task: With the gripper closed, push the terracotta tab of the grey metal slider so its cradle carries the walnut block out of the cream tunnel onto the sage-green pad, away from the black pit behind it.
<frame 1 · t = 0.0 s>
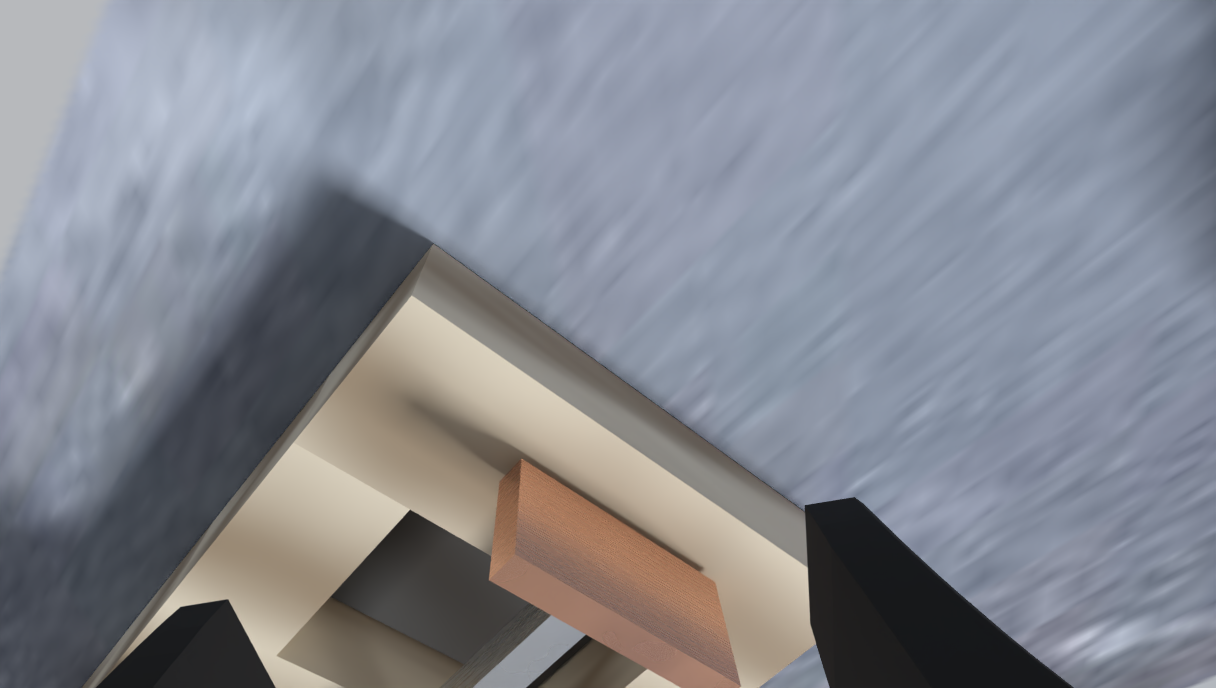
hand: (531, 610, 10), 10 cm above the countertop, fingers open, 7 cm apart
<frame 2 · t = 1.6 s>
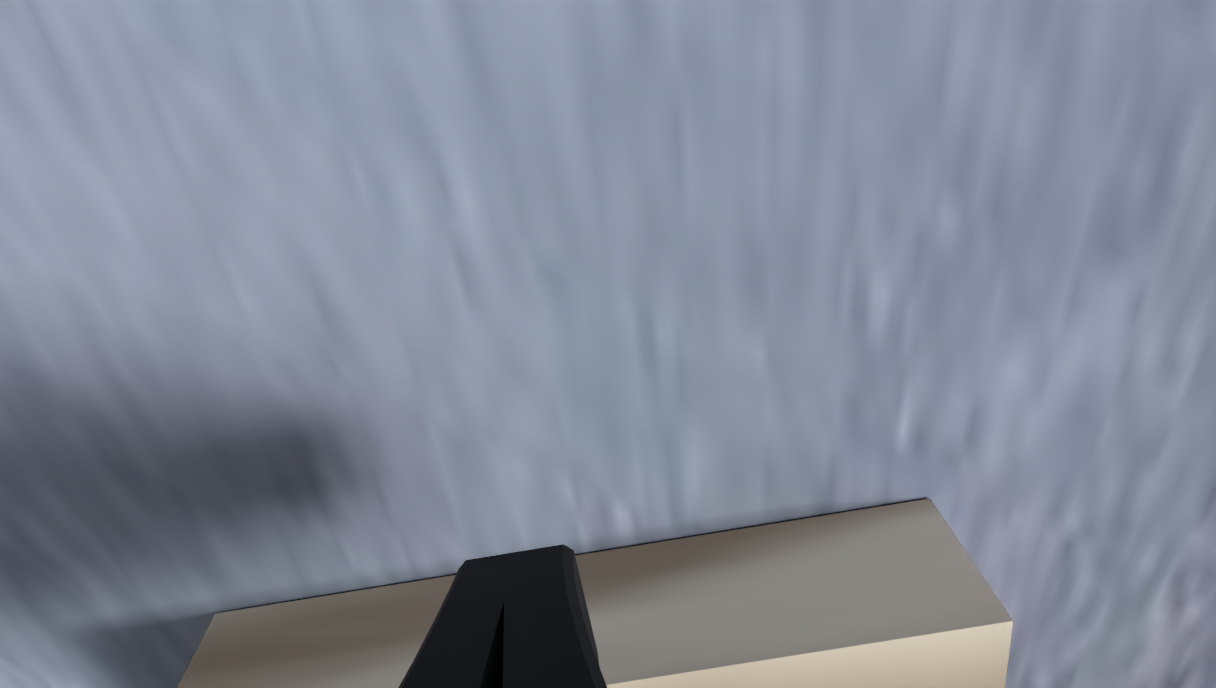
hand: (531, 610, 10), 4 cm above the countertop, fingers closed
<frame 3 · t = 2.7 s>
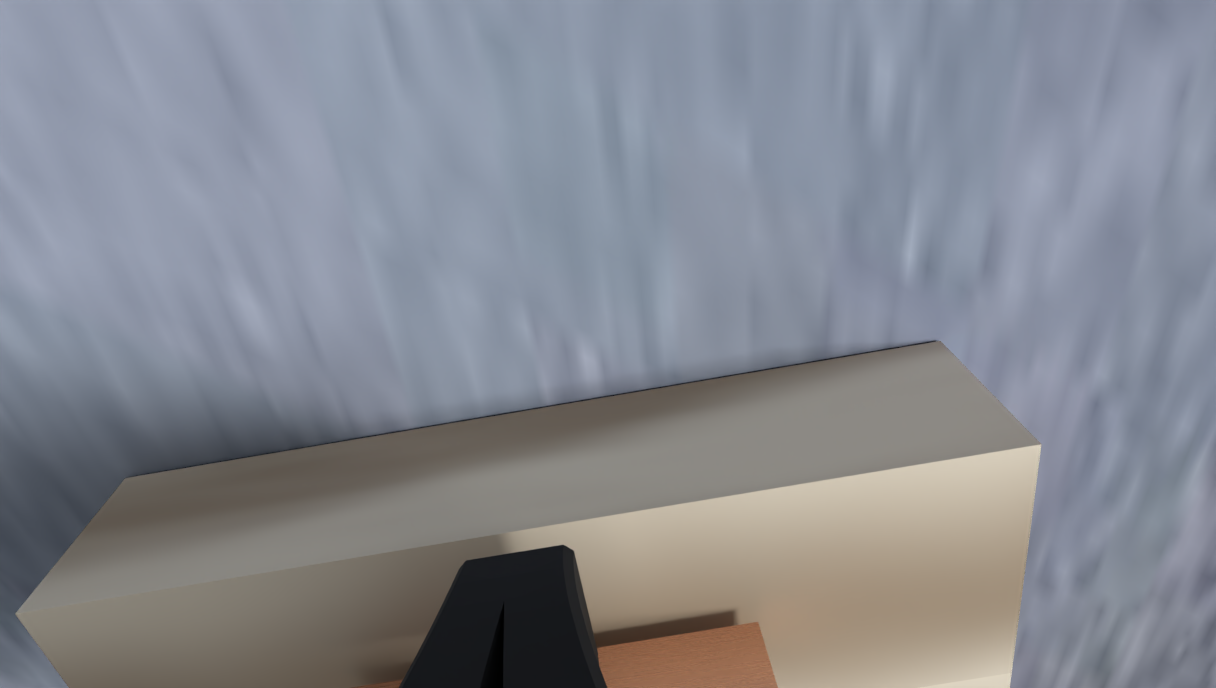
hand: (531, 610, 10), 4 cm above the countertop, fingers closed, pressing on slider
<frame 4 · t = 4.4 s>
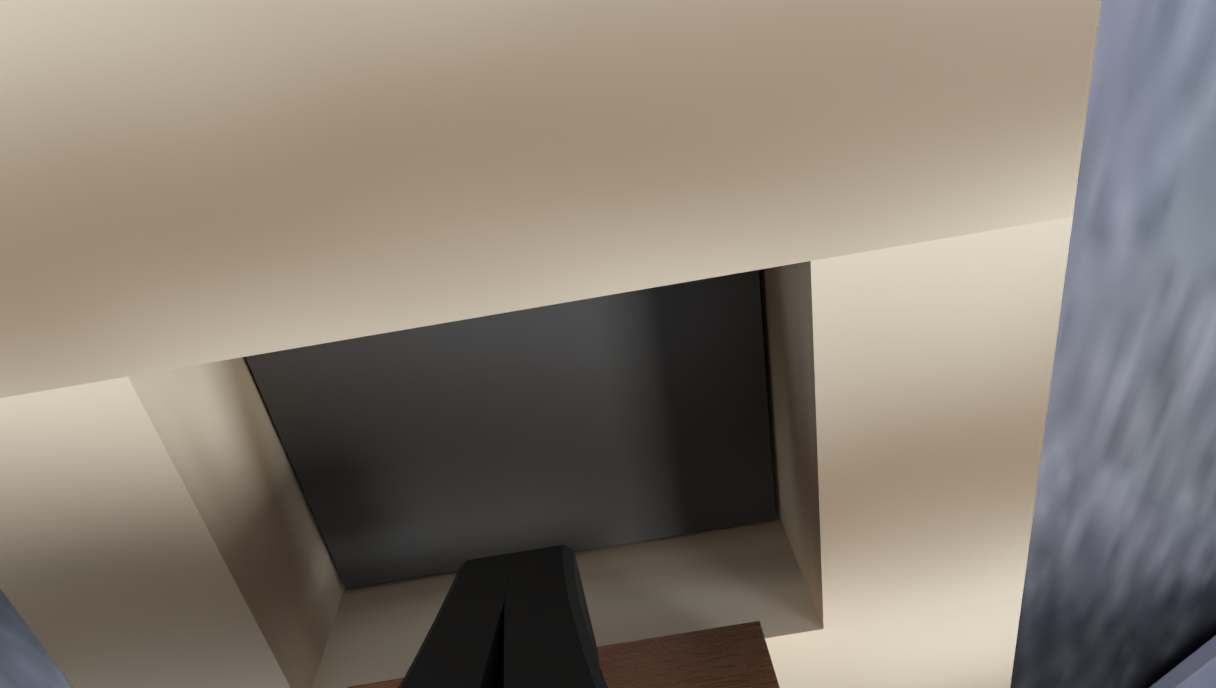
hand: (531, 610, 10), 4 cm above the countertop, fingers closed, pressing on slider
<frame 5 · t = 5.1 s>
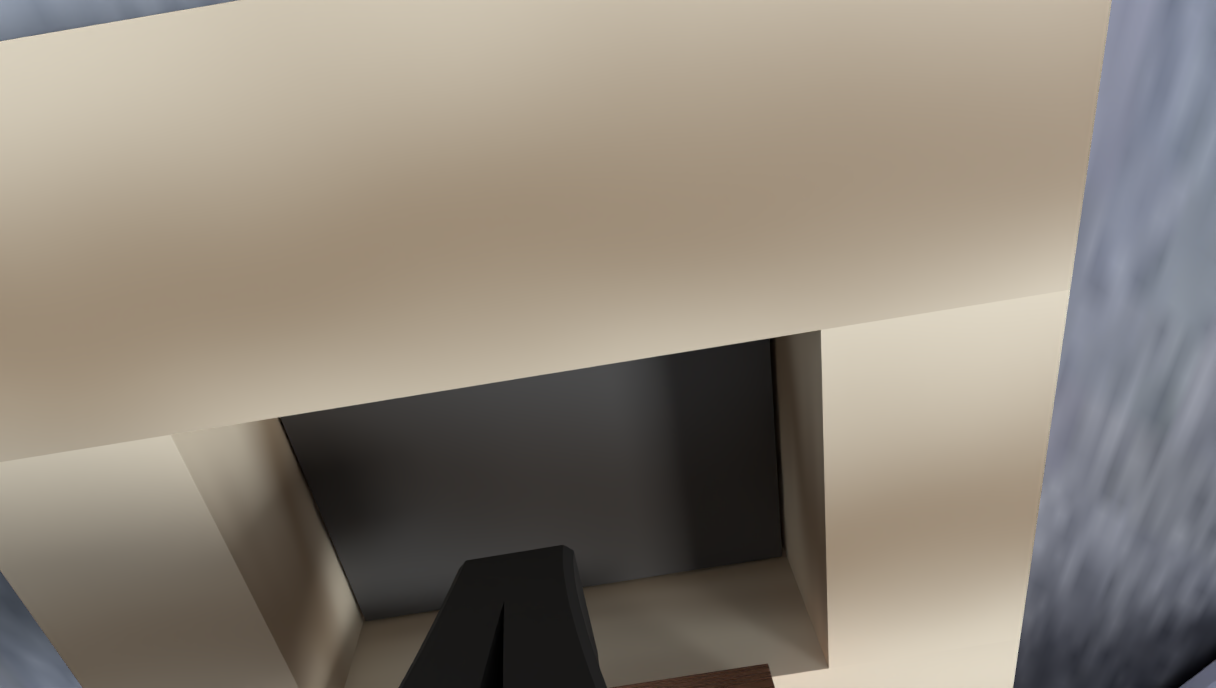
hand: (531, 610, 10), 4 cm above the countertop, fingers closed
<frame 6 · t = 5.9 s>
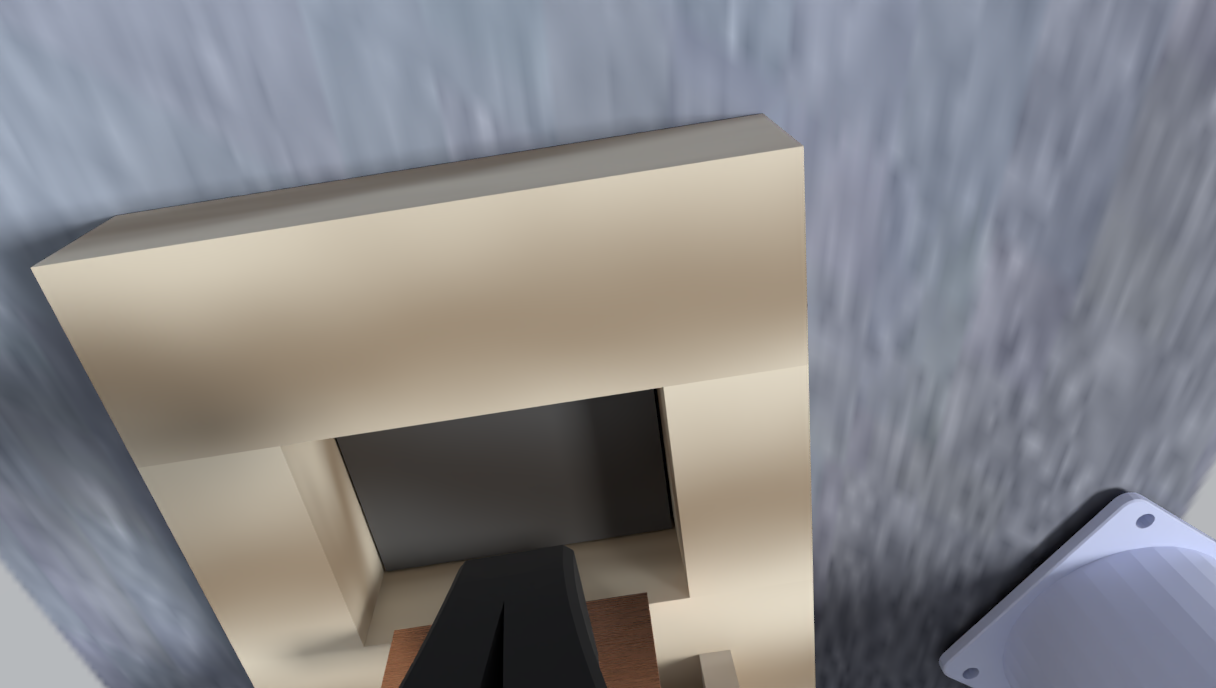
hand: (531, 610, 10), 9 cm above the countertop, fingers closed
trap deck: (563, 671, 24), on the countertop
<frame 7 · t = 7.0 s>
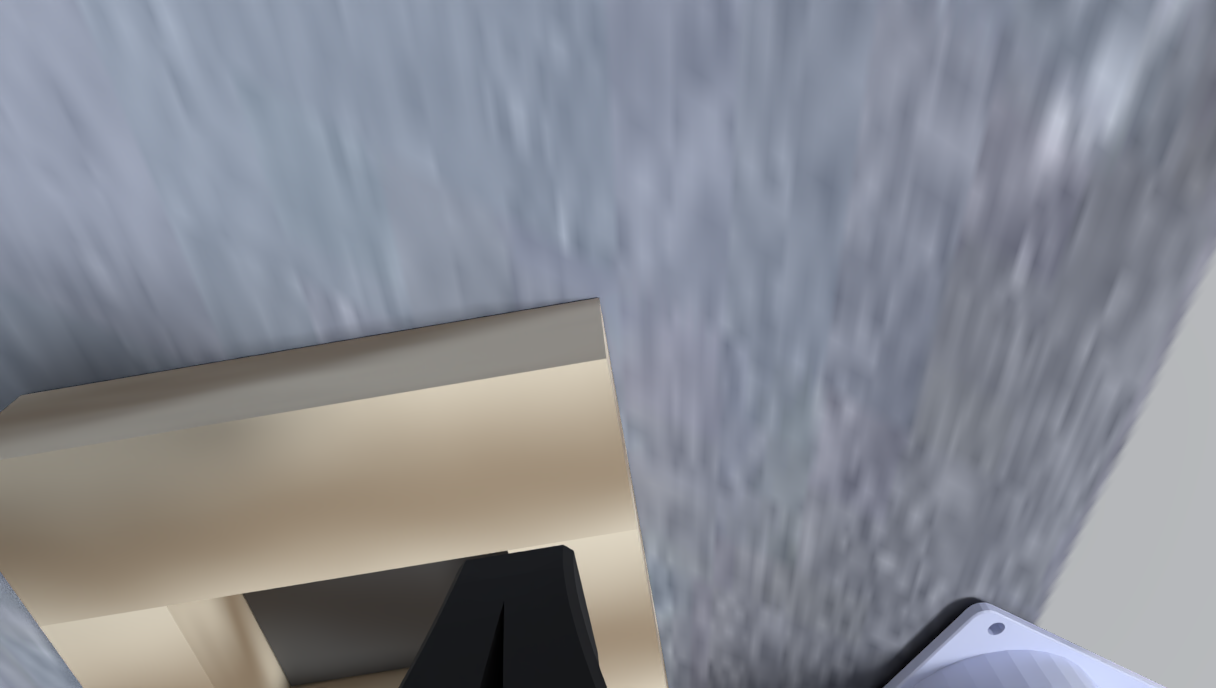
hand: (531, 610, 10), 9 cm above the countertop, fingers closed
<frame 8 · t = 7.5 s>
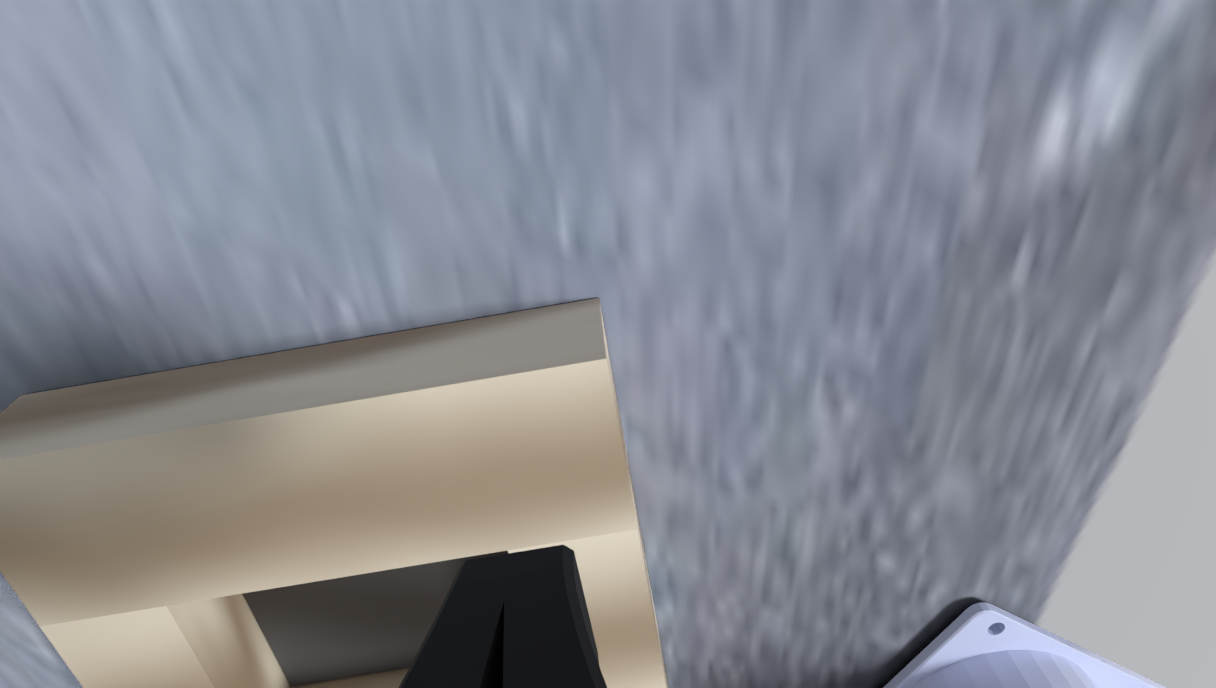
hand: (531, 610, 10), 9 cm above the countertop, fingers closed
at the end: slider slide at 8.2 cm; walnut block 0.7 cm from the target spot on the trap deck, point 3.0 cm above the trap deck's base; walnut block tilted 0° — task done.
